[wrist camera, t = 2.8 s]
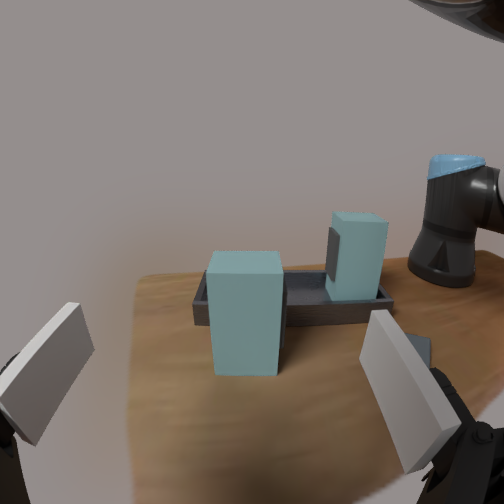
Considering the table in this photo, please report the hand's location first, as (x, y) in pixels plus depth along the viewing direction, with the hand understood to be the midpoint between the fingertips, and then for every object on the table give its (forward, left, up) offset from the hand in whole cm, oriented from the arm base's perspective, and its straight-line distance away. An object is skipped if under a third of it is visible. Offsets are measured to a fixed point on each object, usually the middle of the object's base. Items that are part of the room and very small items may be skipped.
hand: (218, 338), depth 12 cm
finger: (-1, -13, -13) cm, 18 cm away
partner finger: (-15, -24, -11) cm, 30 cm away
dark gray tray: (-7, -24, -13) cm, 28 cm away
